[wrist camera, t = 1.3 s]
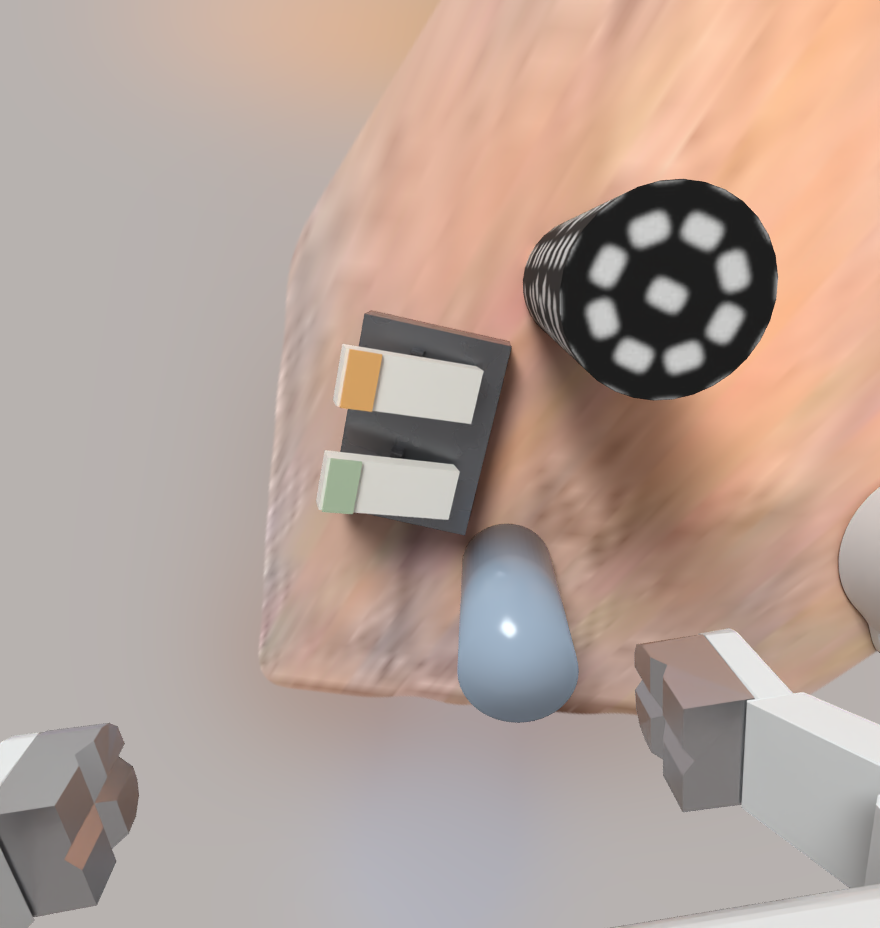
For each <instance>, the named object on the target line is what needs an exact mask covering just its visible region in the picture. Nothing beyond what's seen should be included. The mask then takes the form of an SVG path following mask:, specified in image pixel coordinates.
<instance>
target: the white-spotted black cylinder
mask: <svg viewBox="0 0 880 928" xmlns="http://www.w3.org/2000/svg"><path fill="white" fill-rule="evenodd" d="M777 283H778V273H777V264H776V255H775V252H774V249H773V246H772V243H771V240H770V237H769V235H768V233H767V231H766V230H765V228H764V226H763V225H762V223H761V221H760V220H759V218H758V216H757V215H756V214H755V213H754V212H753V211H752V210H751V209H750V208H749V207H748V206H747V205H746V204H745V203H744V202H743V201H742V200H740V199H739V198H737V197H736V196H734V195H733V194H731V193H730V192H728V191H727V190H725V189H722V188H720V187H717V186H714V185H712V184H709V183H706V182H702V181H694V180H687V179H675V180H661V181H657V182H654V183H650V184H646V185H643V186H639V187H637V188H635V189H633V190H631V191H629V192H627V193H624V194H622V195H620V196H618V197H616V198H614V199H612V200H610V201H608V202H606V203H604V204H602V205H600V206H597V207H595V208H593V209H591V210H589V211H587V212H585V213H583V214H581V215H579V216H577V217H575V218H573V219H571V220H568V221H566V222H564V223H562V224H560V225H558V226H557V227H555V228H553V229H552V230H551V231H549V232H548V233H547V234H546V235H544V236H543V238H542V239H541V240H540V241H539V242H538V243H537V244H536V246H535V247H534V249H533V251H532V252H531V254H530V256H529V259H528V261H527V264H526V267H525V272H524V278H523V293H524V297H525V302H526V305H527V307H528V310H529V312H530V314H531V316H532V317H533V319H534V320H535V322H536V323H537V324H538V325H539V326H540V327H541V328H542V329H543V330H544V331H545V332H546V333H547V334H548V335H549V336H550V337H551V338H553V339H554V340H555V341H556V342H557V343H558V344H559V345H560V346H561V347H562V348H563V349H564V350H565V351H566V352H567V353H568V354H569V355H571V356H572V357H573V358H574V359H575V360H576V361H577V362H578V363H579V364H580V365H581V366H582V367H583V368H584V369H585V370H586V371H588V372H589V373H590V374H591V375H592V376H593V377H594V378H595V379H596V380H597V381H599V382H600V383H602V384H604V385H605V386H607V387H609V388H610V389H612V390H614V391H616V392H619V393H621V394H624V395H627V396H630V397H633V398H640V399H647V400H670V399H677V398H681V397H685V396H689V395H693V394H696V393H698V392H700V391H702V390H705V389H707V388H709V387H711V386H713V385H715V384H716V383H718V382H719V381H721V380H722V379H724V378H725V377H727V376H728V375H730V374H731V373H732V372H733V371H734V370H735V369H737V368H738V367H739V366H740V365H741V364H742V363H743V362H744V361H745V360H746V359H747V358H748V356H749V355H750V354H751V352H752V351H753V350H754V348H755V347H756V346H757V344H758V343H759V341H760V340H761V338H762V336H763V334H764V332H765V330H766V328H767V326H768V324H769V322H770V319H771V315H772V312H773V308H774V305H775V301H776V294H777Z"/></svg>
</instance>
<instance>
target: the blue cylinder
mask: <svg viewBox="0 0 880 928" xmlns="http://www.w3.org/2000/svg"><path fill="white" fill-rule="evenodd" d="M578 672H579V671H578V662H577V657H576V654H575V650H574V646H573V642H572V638H571V634H570V630H569V627H568V623H567V619H566V615H565V611H564V607H563V603H562V600H561V596H560V592H559V588H558V584H557V580H556V576H555V573H554V569H553V565H552V561H551V557H550V553H549V551H548V548H547V546H546V545H545V543H544V542H543V540H542V539H541V538H540V537H539V536H538V535H537V534H536V533H534V532H533V531H531V530H529V529H527V528H525V527H523V526H519V525H514V524H499V525H494V526H491V527H488V528H486V529H484V530H482V531H481V532H479V533H478V534H477V535H476V536H474V537H473V539H472V540H471V541H470V542H469V544H468V545H467V547H466V549H465V551H464V555H463V560H462V580H461V603H460V626H459V649H458V680H459V683H460V687H461V689H462V691H463V693H464V695H465V696H466V698H467V699H468V700H469V702H470V703H471V704H472V705H473V706H474V707H476V708H477V709H478V710H479V711H481V712H482V713H484V714H486V715H488V716H490V717H492V718H495V719H498V720H502V721H506V722H517V723H520V722H530V721H535V720H538V719H541V718H544V717H546V716H549V715H550V714H552V713H554V712H555V711H557V710H558V709H559V708H561V707H562V706H563V705H564V704H565V703H566V702H567V700H568V699H569V698H570V697H571V695H572V693H573V692H574V689H575V687H576V684H577V680H578Z"/></svg>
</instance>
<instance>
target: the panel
mask: <svg viewBox="0 0 880 928" xmlns="http://www.w3.org/2000/svg"><path fill="white" fill-rule="evenodd" d="M359 347H365V348H371V349H377V350H383V351H388V352H394V353H400V354H406V355H412V356H418V357H424V358H430V359H436V360H442V361H448V362H454V363H460V364H466V365H472V366H477V367H478V368H480V369H481V370H483V371H484V372H483V376H482V380H481V384H480V389H479V393H478V397H477V401H476V405H475V410H474V414H473V418H472V422H471V424H467V423H460V422H452V421H445V420H437V419H430V418H422V417H415V416H407V415H400V414H393V413H385V412H378V411H372V412H369V411H361V410H354V409H348V411H347V417H346V423H345V428H344V434H343V440H342V446H341V451H340V452H345V453H354V454H363V455H372V456H381V457H390V458H400V459H409V460H418V461H427V462H436V463H445V464H454V466H455V467H456V468H457V469H458V470H459V471H460V473H459V477H458V481H457V486H456V490H455V494H454V498H453V502H452V507H451V511H450V515H449V519H448V520H444V519H431V518H419V517H406V516H393V515H380V514H370V515H374V516H379V517H384V518H388V519H393V520H397V521H402V522H406V523H411V524H415V525H420V526H424V527H429V528H434V529H438V530H443V531H447V532H452V533H456V534H461V535H465V533H466V529H467V525H468V521H469V517H470V513H471V509H472V505H473V501H474V497H475V493H476V489H477V485H478V480H479V476H480V472H481V468H482V464H483V460H484V456H485V452H486V448H487V444H488V440H489V436H490V432H491V428H492V424H493V420H494V416H495V412H496V408H497V404H498V400H499V396H500V392H501V388H502V384H503V380H504V375H505V371H506V367H507V363H508V359H509V355H510V351H511V347H512V346H511V344H510V342H509V341H505V340H501V339H496V338H492V337H487V336H483V335H478V334H474V333H470V332H465V331H461V330H456V329H452V328H447V327H443V326H438V325H434V324H429V323H425V322H421V321H416V320H412V319H407V318H403V317H398V316H394V315H389V314H385V313H381V312H376V311H369V312H367V313H365V314H364V320H363V325H362V331H361V337H360V343H359ZM365 514H367V513H365Z"/></svg>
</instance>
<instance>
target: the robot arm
mask: <svg viewBox="0 0 880 928" xmlns="http://www.w3.org/2000/svg"><path fill="white" fill-rule="evenodd" d="M839 574H840V579H841V583H842V586H843V588H844V591H845V593H846V595H847V597H848V598H849V600H850V601H851V603H852V604H853V605H854V607H855V608H856V609H857V610H858V611H859V612H860V613H861V614H862V615H863V617H864V618H865V619H866V621H867V622H868V624H869V629H870V634H871V638H872V641H873V644H874V647H875V648H876V650H877V651H878V652H879V653H880V487H879V488H877V489H876V490H875V491H874V492H873V493H872V494H871V495H870V496H869V497H868V498H867V499H866V500H865V501H864V502H863V504H862V505H861V506H860V507H859V509H858V510H857V511H856V513H855V514H854V516H853V517H852V519H851V521H850V523H849V525H848V527H847V529H846V531H845V534H844V536H843V539H842V543H841V547H840V553H839ZM635 668H636V670H637V671H638V673H639V675H640V677H641V678H642V681H641V682H640V684H639V685H638V687H637V688H636V690H635V696H636V709H637V714H638V718H639V724H640V727H641V730H642V733H643V735H644V738H645V740H646V742H647V745H648V747H649V749H650V750H651V752H652V753H653V754H655V755H657V756H658V757H660V758H662V759H663V776H664V778H665V780H666V781H667V783H668V785H669V787H670V789H671V791H672V793H673V795H674V797H675V798H676V800H677V802H678V804H679V806H680V808H681V810H682V811H683V812H688V811H696V810H703V809H711V808H719V807H727V806H735V805H742V808H743V809H744V810H745V811H747V812H748V813H749V814H751V815H752V816H753V817H755V818H756V819H757V820H759V821H760V822H762V823H763V824H764V825H766V826H767V827H768V828H770V829H771V830H772V831H774V832H775V833H776V834H778V835H779V836H781V837H782V838H783V839H784V840H786V841H787V842H789V843H790V844H791V845H792V846H794V847H795V848H796V849H798V850H799V851H800V852H802V853H803V854H805V855H806V856H807V857H809V858H810V859H811V860H813V861H814V862H815V863H817V864H818V865H820V866H821V867H822V868H823V869H825V870H826V871H827V872H829V873H830V874H831V875H833V876H834V877H835V878H837V879H838V880H839V881H841V882H842V883H843V884H845V885H846V886H847V887H849V889H843V890H837V891H831V892H825V893H819V894H813V895H806V896H800V897H795V898H788V899H782V900H776V901H770V902H764V903H758V904H752V905H746V906H740V907H734V908H727V909H721V910H715V911H709V912H703V913H697V914H691V915H685V916H679V917H673V918H667V919H660V920H654V921H648V922H642V923H636V924H630V925H624V926H618V927H612V928H880V725H879V724H877V723H874V722H872V721H870V720H867V719H865V718H863V717H860V716H858V715H855V714H853V713H851V712H849V711H846V710H844V709H842V708H839V707H837V706H834V705H832V704H829V703H827V702H825V701H823V700H820V699H818V698H816V697H813V696H811V695H809V694H806V693H804V692H801V693H794V694H793V693H792V691H791V690H790V689H789V688H788V687H787V686H786V685H785V684H784V683H783V682H782V681H781V679H780V678H779V677H778V676H777V675H776V674H775V673H774V672H773V671H772V670H771V669H770V667H769V666H768V665H767V664H766V663H765V662H764V661H763V660H762V659H761V658H760V657H759V656H758V654H757V653H756V652H755V651H754V650H753V649H752V648H751V647H750V646H749V645H748V644H747V642H746V641H745V640H744V639H743V638H742V637H741V636H740V635H739V634H738V633H737V632H736V631H735V630H733V629H730V628H727V629H722V630H716V631H711V632H705V633H699V634H698V635H694V636H688V637H681V638H675V639H668V640H662V641H655V642H649V643H642V644H636V649H635ZM124 744H125V743H124V741H123V738H122V736H121V734H120V731H119V729H118V726H115V725H113V724H110V723H105V724H98V725H89V726H83V727H82V726H81V727H74V728H66V729H58V730H50V731H46V732H37V733H30V734H23V735H16V736H12V737H10V738H8V739H6V740H4V741H2V742H1V743H0V928H28V927H29V926H30V925H31V924H32V923H33V921H34V918H33V917H38V916H43V915H48V914H53V913H59V912H64V911H69V910H75V909H80V908H85V907H91V906H96V905H97V904H98V901H99V899H100V897H101V895H102V892H103V890H104V888H105V886H106V883H107V881H108V879H109V877H110V874H111V872H112V870H113V868H114V865H115V863H116V859H115V857H114V854H113V851H112V848H113V847H115V846H116V845H117V844H118V843H119V842H120V841H121V840H122V839H123V838H124V837H125V836H127V834H129V831H130V829H131V827H132V824H133V822H134V819H135V817H136V812H137V805H138V797H139V792H138V782H137V777H136V774H135V771H134V768H133V766H131V765H130V764H129V763H127V762H126V761H124V760H123V759H122V758H120V757H119V754H120V752H121V750H122V748H123V746H124Z"/></svg>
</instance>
